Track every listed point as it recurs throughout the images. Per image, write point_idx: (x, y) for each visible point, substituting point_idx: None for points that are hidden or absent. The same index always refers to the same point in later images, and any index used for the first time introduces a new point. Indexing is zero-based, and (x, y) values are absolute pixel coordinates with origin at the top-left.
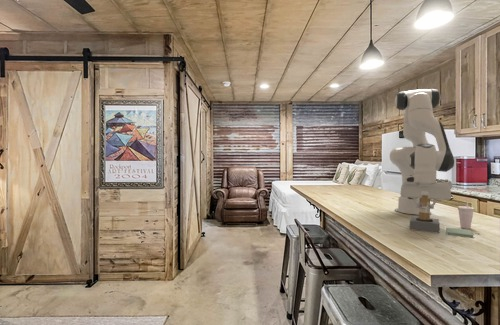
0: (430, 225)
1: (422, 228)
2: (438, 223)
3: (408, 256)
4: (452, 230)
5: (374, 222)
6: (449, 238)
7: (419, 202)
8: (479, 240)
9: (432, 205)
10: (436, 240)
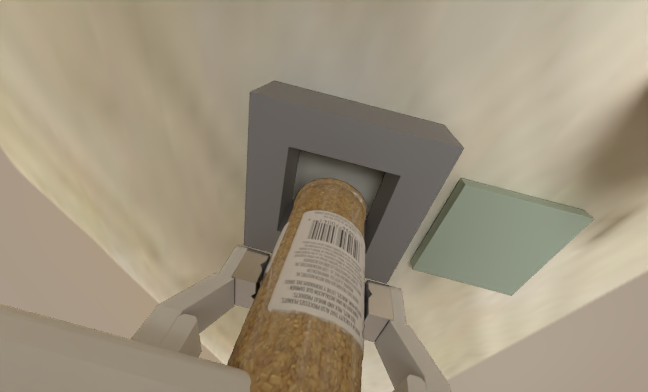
0: None
1: None
2: (387, 273)
3: None
4: (461, 240)
5: (67, 96)
6: None
7: (250, 310)
8: (499, 311)
9: (377, 338)
10: None
